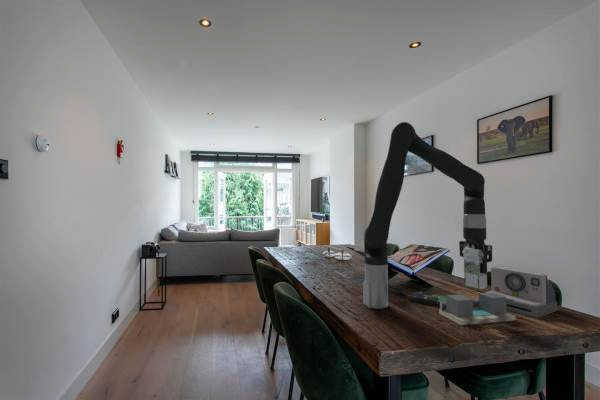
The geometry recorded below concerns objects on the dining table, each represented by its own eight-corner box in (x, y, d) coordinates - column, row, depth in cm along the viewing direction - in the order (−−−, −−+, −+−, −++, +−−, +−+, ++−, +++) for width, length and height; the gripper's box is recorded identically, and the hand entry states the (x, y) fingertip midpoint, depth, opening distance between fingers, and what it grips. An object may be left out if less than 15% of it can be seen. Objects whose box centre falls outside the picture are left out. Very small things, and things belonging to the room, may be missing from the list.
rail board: (461, 325, 109) (460, 303, 109) (439, 313, 121) (438, 293, 121) (515, 320, 113) (515, 299, 114) (489, 309, 125) (489, 290, 125)
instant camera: (478, 303, 134) (478, 267, 135) (513, 297, 142) (512, 263, 142) (530, 319, 115) (530, 277, 115) (567, 312, 122) (566, 273, 122)
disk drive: (408, 302, 137) (445, 309, 127) (408, 296, 137) (445, 302, 127) (418, 297, 144) (453, 303, 135) (418, 291, 145) (453, 296, 135)
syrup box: (487, 287, 117) (486, 247, 117) (479, 290, 114) (478, 249, 114) (471, 284, 122) (471, 246, 122) (463, 286, 118) (462, 247, 118)
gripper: (452, 225, 124) (453, 267, 124) (480, 228, 110) (481, 275, 110) (469, 225, 126) (470, 267, 125) (498, 227, 112) (499, 274, 111)
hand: (475, 271), depth 118 cm, fingers closed on syrup box, 7 cm apart
